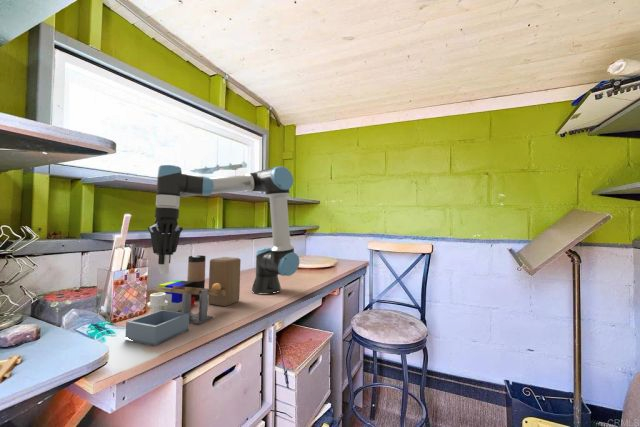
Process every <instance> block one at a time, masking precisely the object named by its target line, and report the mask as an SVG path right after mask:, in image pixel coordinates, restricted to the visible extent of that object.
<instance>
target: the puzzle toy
mask: <svg viewBox="0 0 640 427" xmlns="http://www.w3.org/2000/svg"><path fill="white" fill-rule="evenodd" d="M173 286H181V287H194V288H195V282H194V281H187V280H176V279H175V280H173V281H171V280H170V281H169V282H164V283H161V284H158V285H157V287H164V288H173ZM157 293H166V296H165V300H166V301H167V302H168V305H165V306H162V310H168V311H175V312H181V311H182V296H183V294H181V293H173V292H164V291H157ZM195 302H196V300H195V294H191V307H192V306H194V305H195Z"/></svg>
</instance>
